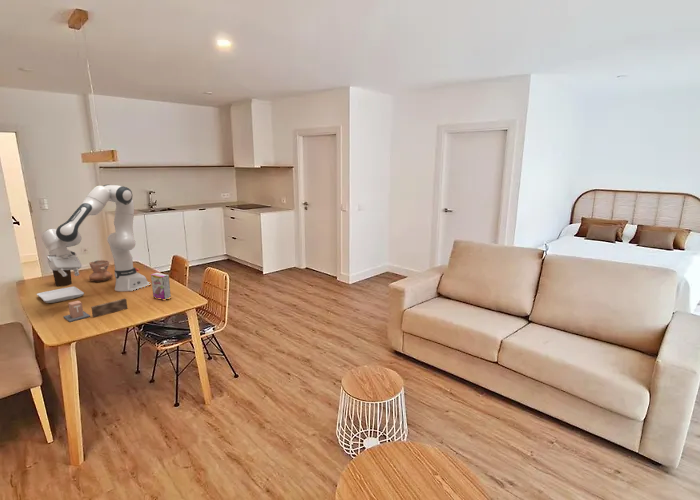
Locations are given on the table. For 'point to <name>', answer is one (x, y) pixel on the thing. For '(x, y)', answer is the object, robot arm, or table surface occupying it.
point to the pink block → (75, 309)
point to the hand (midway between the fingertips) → (71, 275)
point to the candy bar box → (160, 285)
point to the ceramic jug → (100, 271)
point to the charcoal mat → (77, 317)
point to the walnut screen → (109, 307)
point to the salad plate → (60, 294)
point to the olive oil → (62, 278)
